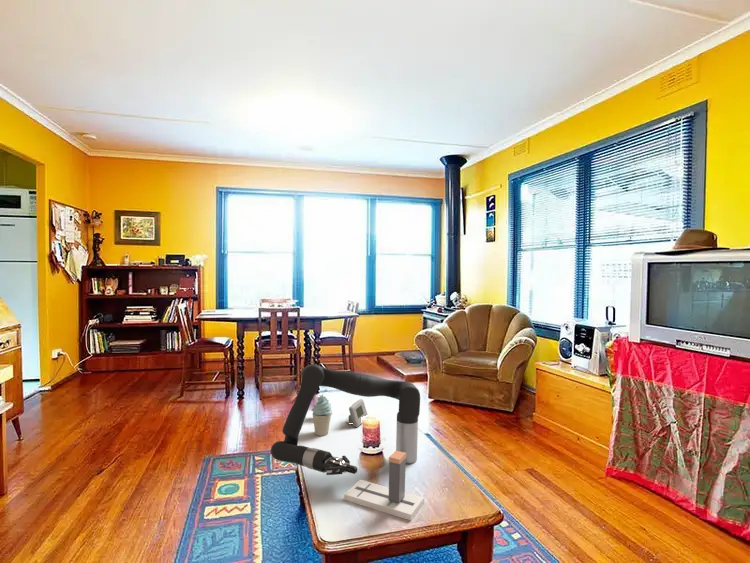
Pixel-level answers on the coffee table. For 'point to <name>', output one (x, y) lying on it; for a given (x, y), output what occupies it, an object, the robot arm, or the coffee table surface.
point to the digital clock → (357, 412)
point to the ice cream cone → (322, 416)
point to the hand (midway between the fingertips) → (356, 470)
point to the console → (383, 499)
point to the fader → (397, 476)
